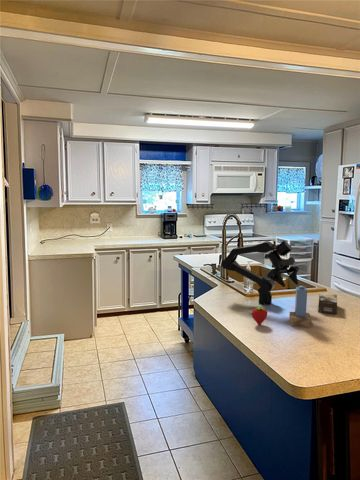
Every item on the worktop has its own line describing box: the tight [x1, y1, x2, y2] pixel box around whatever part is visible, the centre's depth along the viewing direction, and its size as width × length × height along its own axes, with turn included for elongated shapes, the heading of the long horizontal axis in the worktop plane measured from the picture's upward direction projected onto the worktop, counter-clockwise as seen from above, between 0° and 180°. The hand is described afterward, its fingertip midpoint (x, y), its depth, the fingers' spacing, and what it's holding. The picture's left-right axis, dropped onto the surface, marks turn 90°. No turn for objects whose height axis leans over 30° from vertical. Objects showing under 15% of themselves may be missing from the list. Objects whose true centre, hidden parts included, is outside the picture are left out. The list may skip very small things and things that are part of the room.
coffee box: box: [317, 292, 338, 315], centre depth 195 cm, size 9×6×16 cm
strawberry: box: [251, 306, 268, 326], centre depth 171 cm, size 6×8×10 cm
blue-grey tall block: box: [294, 285, 308, 317], centre depth 172 cm, size 4×4×14 cm
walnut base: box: [289, 311, 312, 328], centre depth 174 cm, size 9×9×4 cm
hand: (291, 285), depth 190 cm, fingers open, 9 cm apart
